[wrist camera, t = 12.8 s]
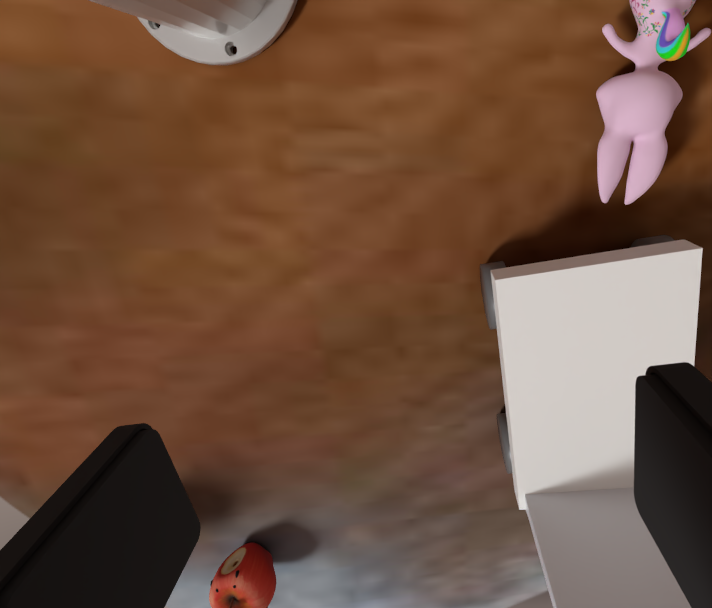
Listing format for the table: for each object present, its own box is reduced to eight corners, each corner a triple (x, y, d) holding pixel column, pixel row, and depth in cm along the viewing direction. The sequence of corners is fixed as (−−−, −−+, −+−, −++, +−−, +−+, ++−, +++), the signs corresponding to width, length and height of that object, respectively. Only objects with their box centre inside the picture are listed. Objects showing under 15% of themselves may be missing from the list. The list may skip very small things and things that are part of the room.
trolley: (476, 250, 36) (531, 374, 19) (651, 220, 33) (891, 332, 17) (500, 450, 43) (555, 667, 26) (645, 438, 40) (807, 668, 24)
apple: (225, 525, 52) (184, 615, 42) (283, 532, 51) (254, 625, 42) (231, 571, 55) (194, 664, 45) (286, 578, 54) (260, 674, 45)
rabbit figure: (602, -41, 29) (559, 200, 32) (652, -99, 23) (593, 201, 27) (706, -38, 28) (651, 206, 32) (783, -97, 22) (704, 209, 26)
